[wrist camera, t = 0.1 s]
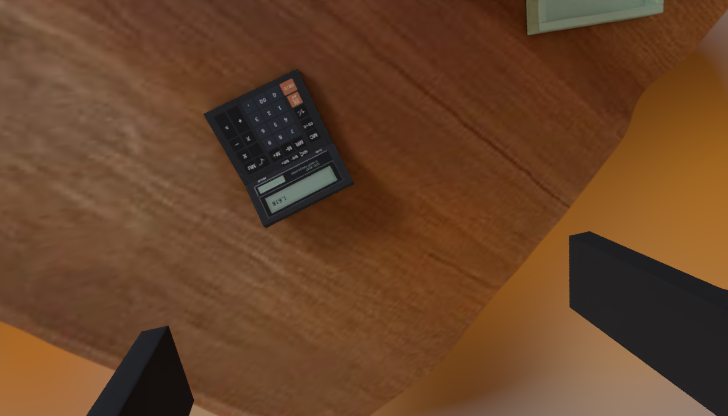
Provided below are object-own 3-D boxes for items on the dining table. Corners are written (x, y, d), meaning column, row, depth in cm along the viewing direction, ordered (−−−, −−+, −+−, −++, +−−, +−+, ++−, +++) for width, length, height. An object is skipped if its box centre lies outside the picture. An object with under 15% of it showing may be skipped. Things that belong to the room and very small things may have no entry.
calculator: (297, 69, 36) (297, 66, 34) (350, 179, 40) (355, 185, 37) (205, 113, 36) (198, 114, 33) (267, 221, 40) (265, 230, 37)
